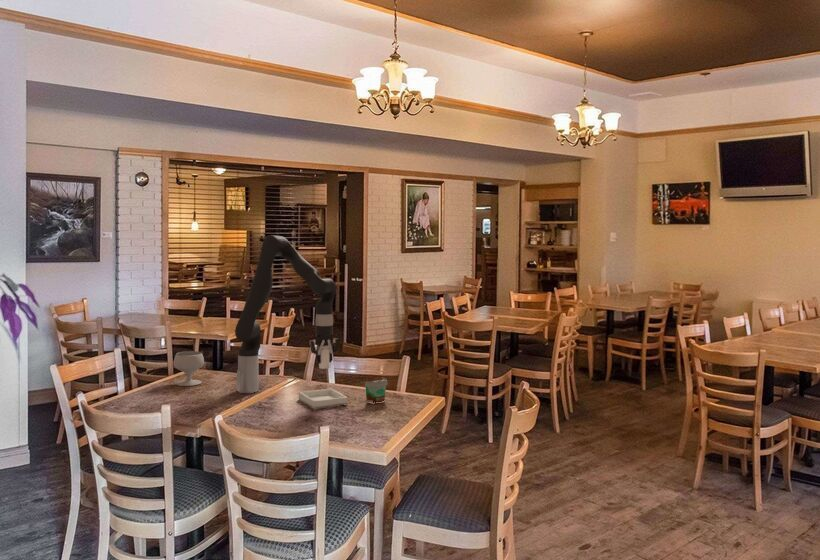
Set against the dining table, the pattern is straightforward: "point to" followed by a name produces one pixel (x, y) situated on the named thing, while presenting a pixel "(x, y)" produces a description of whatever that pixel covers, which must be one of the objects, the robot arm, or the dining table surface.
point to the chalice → (188, 366)
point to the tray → (322, 398)
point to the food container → (376, 390)
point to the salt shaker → (325, 358)
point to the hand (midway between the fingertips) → (324, 362)
